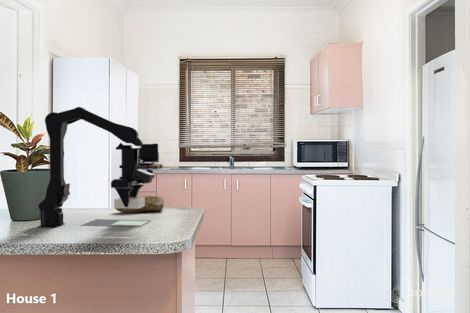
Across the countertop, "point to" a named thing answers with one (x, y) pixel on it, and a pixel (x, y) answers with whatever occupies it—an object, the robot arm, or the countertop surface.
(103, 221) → the mat
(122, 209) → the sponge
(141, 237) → the countertop surface
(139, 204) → the card box
